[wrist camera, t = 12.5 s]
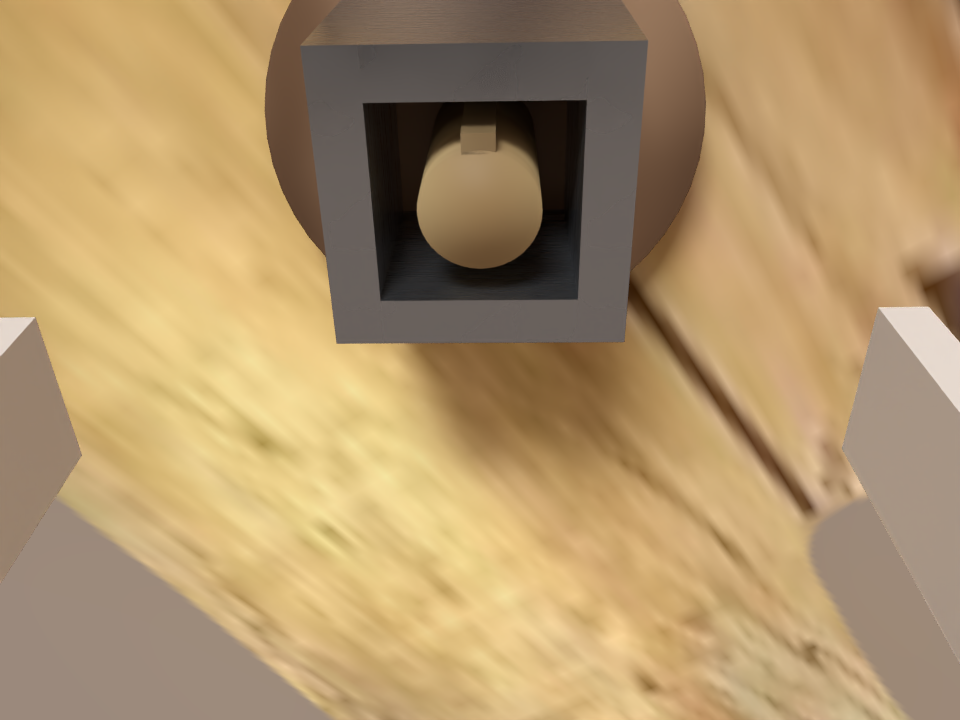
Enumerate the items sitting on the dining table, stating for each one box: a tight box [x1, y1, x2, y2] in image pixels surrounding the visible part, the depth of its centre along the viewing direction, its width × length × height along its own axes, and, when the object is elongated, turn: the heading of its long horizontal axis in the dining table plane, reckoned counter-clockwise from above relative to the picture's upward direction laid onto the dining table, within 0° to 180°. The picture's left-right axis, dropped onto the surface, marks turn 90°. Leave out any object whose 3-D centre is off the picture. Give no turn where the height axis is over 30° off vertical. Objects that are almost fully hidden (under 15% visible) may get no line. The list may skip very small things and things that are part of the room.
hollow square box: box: [300, 0, 648, 344], centre depth 23 cm, size 8×8×6 cm
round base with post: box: [265, 0, 706, 271], centre depth 24 cm, size 13×13×8 cm
